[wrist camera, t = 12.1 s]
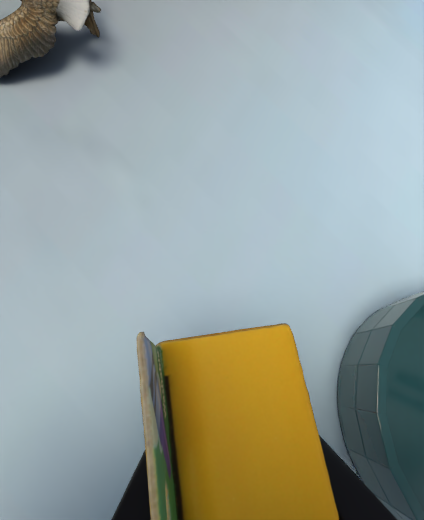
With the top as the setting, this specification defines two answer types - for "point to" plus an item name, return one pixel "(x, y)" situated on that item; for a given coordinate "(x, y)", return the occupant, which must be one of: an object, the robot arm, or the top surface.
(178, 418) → the crayon box
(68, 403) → the top surface
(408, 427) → the tin
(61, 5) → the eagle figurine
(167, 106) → the top surface
